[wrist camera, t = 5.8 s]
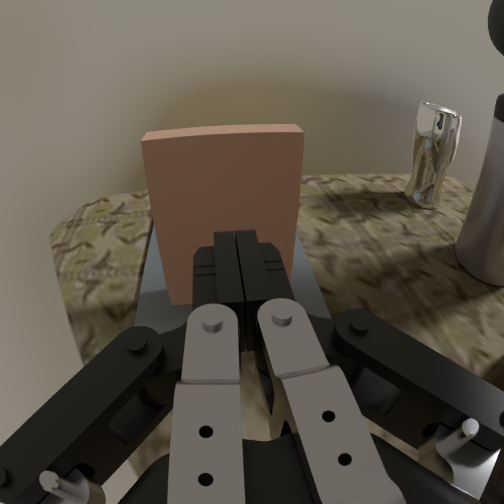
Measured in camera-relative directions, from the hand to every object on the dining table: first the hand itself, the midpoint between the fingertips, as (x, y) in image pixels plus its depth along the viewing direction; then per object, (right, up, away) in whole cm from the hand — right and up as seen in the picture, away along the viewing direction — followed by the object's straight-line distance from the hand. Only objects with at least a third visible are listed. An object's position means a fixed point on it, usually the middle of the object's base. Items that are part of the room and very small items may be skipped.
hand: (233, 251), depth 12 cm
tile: (-1, -4, +16) cm, 16 cm away
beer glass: (+27, +8, +32) cm, 43 cm away
